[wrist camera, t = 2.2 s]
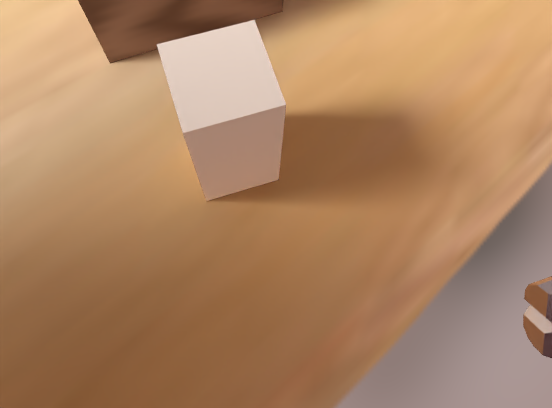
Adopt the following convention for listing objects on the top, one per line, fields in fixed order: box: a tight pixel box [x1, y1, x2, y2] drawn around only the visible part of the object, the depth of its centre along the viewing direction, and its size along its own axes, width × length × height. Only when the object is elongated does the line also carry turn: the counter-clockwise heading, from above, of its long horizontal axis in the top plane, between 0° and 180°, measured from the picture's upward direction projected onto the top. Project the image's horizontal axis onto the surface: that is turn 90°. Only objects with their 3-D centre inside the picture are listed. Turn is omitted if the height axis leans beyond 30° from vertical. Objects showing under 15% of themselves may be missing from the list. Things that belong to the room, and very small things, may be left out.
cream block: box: [157, 20, 286, 201], centre depth 25 cm, size 4×4×9 cm
